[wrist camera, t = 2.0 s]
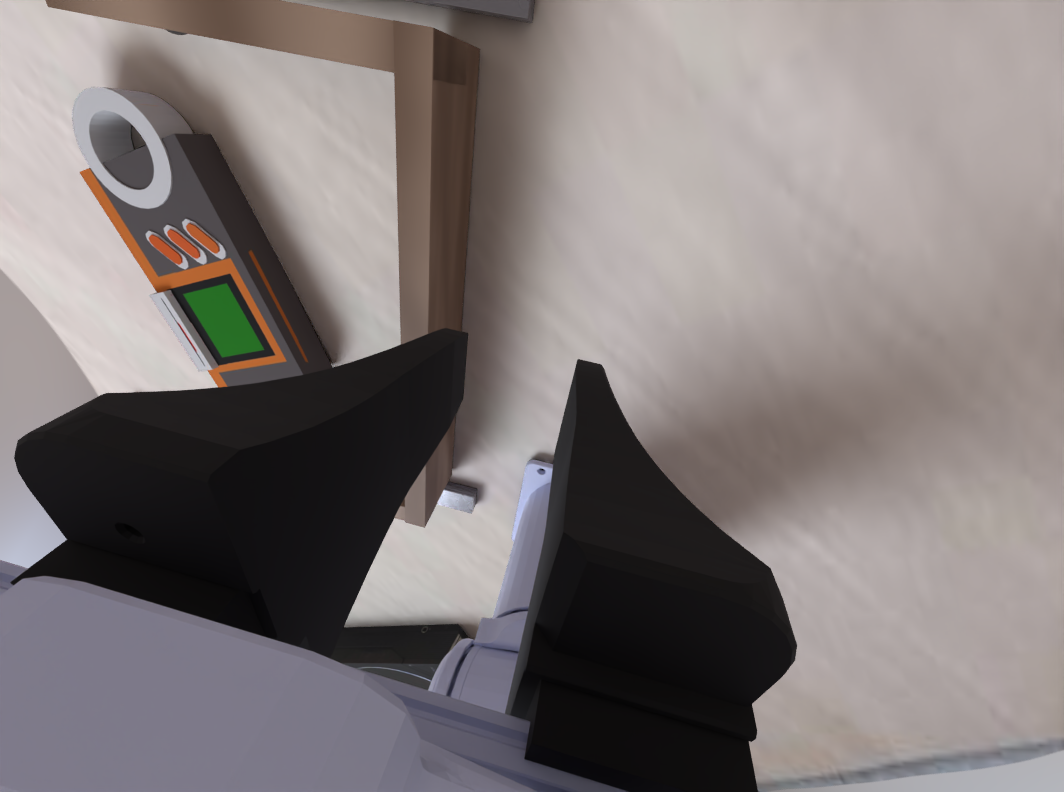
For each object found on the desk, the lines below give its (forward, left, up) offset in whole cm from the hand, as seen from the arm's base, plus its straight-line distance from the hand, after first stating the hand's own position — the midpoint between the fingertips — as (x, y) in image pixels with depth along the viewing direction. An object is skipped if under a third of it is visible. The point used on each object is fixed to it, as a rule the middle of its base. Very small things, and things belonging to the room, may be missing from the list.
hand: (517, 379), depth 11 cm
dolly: (+11, +4, -10) cm, 16 cm away
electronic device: (+18, +4, -11) cm, 22 cm away
